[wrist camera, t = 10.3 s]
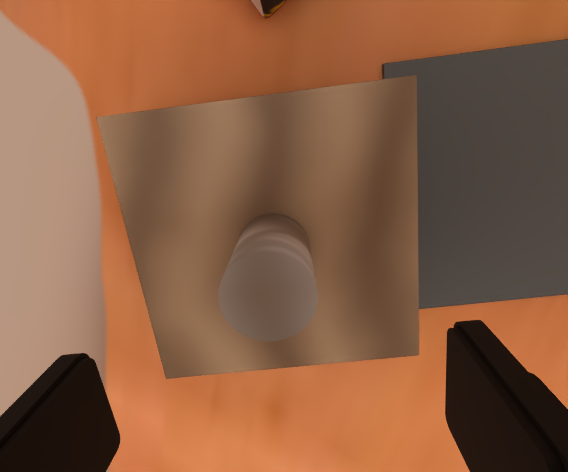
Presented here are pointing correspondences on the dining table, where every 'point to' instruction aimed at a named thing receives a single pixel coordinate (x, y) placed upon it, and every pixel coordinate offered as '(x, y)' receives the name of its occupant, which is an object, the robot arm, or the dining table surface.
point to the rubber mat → (491, 173)
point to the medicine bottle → (267, 6)
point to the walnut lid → (274, 226)
